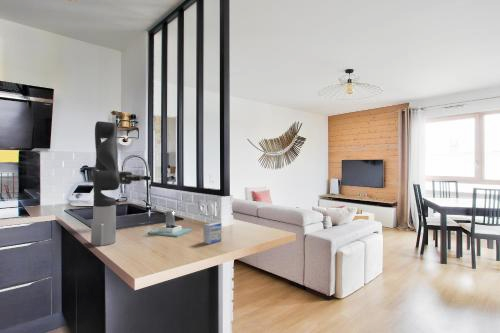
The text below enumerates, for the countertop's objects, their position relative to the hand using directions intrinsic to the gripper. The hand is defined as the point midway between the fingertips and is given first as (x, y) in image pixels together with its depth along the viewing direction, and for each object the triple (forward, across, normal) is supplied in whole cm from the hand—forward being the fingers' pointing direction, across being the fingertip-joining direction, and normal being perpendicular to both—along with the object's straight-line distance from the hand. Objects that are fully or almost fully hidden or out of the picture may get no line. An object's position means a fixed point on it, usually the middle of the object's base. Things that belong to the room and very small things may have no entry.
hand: (145, 178), depth 160 cm
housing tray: (+20, -4, +28) cm, 35 cm away
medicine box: (+49, -12, +28) cm, 58 cm away
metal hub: (+20, -4, +27) cm, 34 cm away
